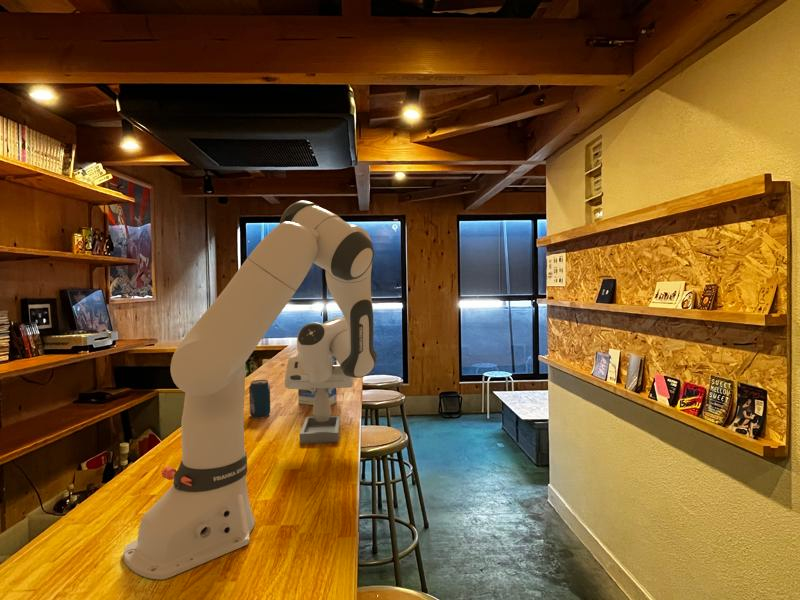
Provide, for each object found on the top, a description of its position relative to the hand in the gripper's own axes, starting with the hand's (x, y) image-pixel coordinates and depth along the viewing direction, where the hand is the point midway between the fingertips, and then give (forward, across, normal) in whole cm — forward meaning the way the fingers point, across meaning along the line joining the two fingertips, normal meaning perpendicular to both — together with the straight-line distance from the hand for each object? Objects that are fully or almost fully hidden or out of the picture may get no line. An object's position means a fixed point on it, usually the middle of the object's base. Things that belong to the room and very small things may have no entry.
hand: (321, 391), depth 142 cm
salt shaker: (+6, 0, +7) cm, 9 cm away
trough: (+9, 0, +10) cm, 13 cm away
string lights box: (+34, +6, -15) cm, 37 cm away
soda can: (+23, +24, -5) cm, 34 cm away
